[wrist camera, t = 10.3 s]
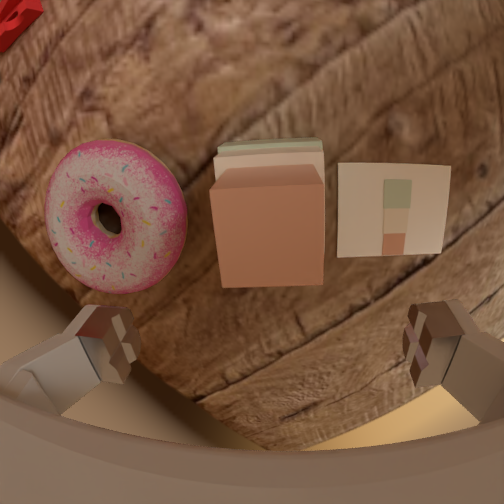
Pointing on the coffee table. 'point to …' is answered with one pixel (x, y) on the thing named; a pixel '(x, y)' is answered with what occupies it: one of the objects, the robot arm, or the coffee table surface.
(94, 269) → the donut
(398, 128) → the coffee table surface
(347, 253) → the page
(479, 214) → the coffee table surface
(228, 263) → the top brick
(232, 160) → the tower base
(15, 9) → the bracket
